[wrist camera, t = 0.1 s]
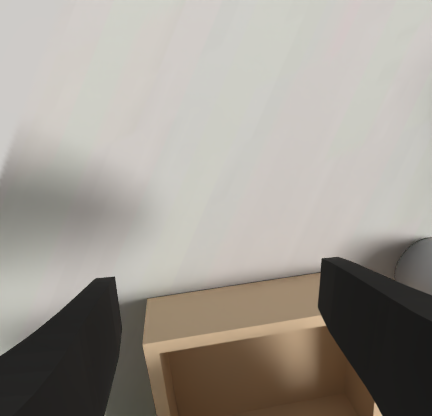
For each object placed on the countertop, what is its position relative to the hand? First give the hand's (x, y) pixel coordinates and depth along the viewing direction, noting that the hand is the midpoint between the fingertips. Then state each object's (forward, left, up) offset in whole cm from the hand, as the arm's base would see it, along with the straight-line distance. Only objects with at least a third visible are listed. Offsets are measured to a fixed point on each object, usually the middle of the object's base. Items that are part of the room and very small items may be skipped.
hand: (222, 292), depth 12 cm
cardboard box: (-12, -3, -10) cm, 16 cm away
